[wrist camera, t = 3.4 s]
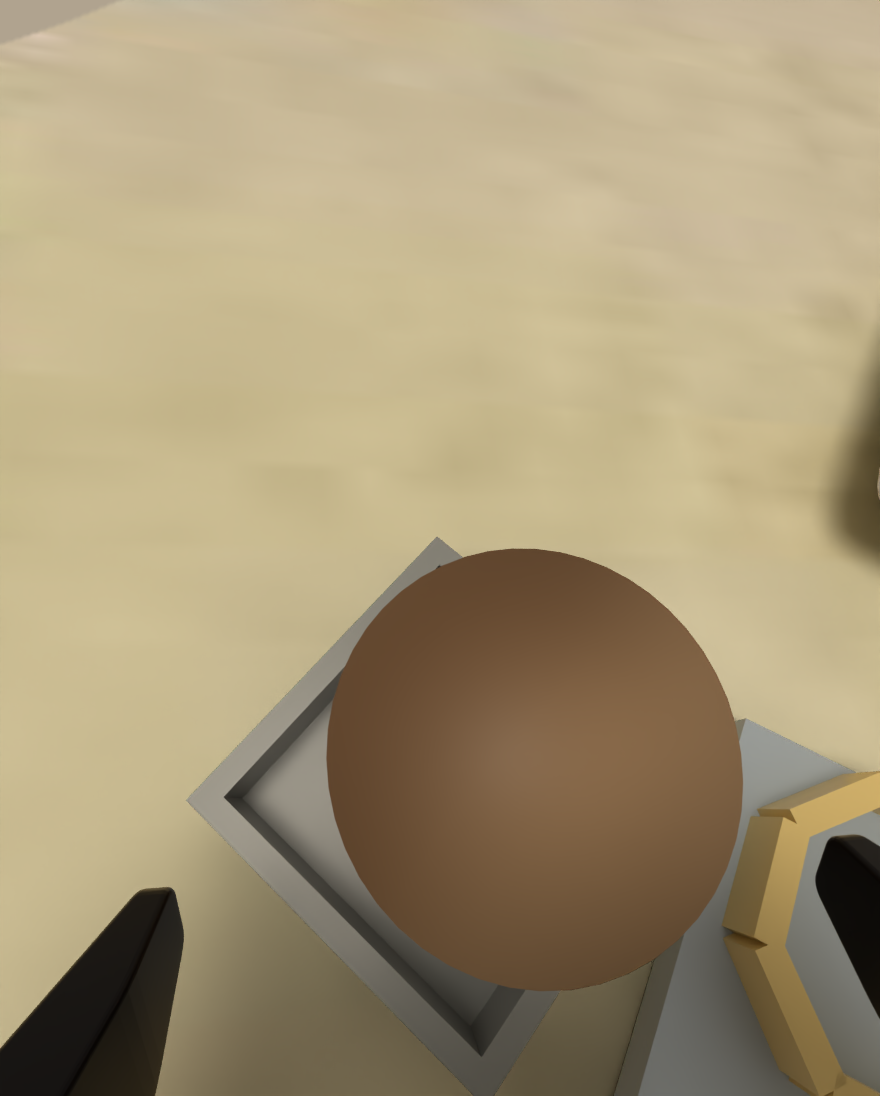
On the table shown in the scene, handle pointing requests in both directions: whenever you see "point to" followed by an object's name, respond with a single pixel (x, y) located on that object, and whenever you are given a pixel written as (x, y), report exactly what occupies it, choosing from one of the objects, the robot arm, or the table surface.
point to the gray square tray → (333, 884)
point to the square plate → (878, 485)
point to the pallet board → (702, 984)
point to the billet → (534, 769)
